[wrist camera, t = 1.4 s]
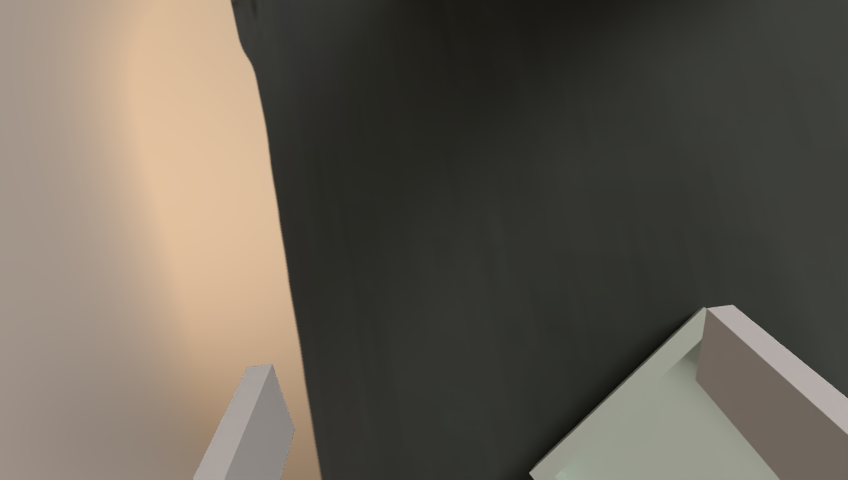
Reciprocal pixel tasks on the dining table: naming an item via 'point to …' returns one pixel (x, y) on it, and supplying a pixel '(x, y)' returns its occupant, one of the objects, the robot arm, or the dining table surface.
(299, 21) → the dining table surface
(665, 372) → the parts tray
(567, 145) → the dining table surface
